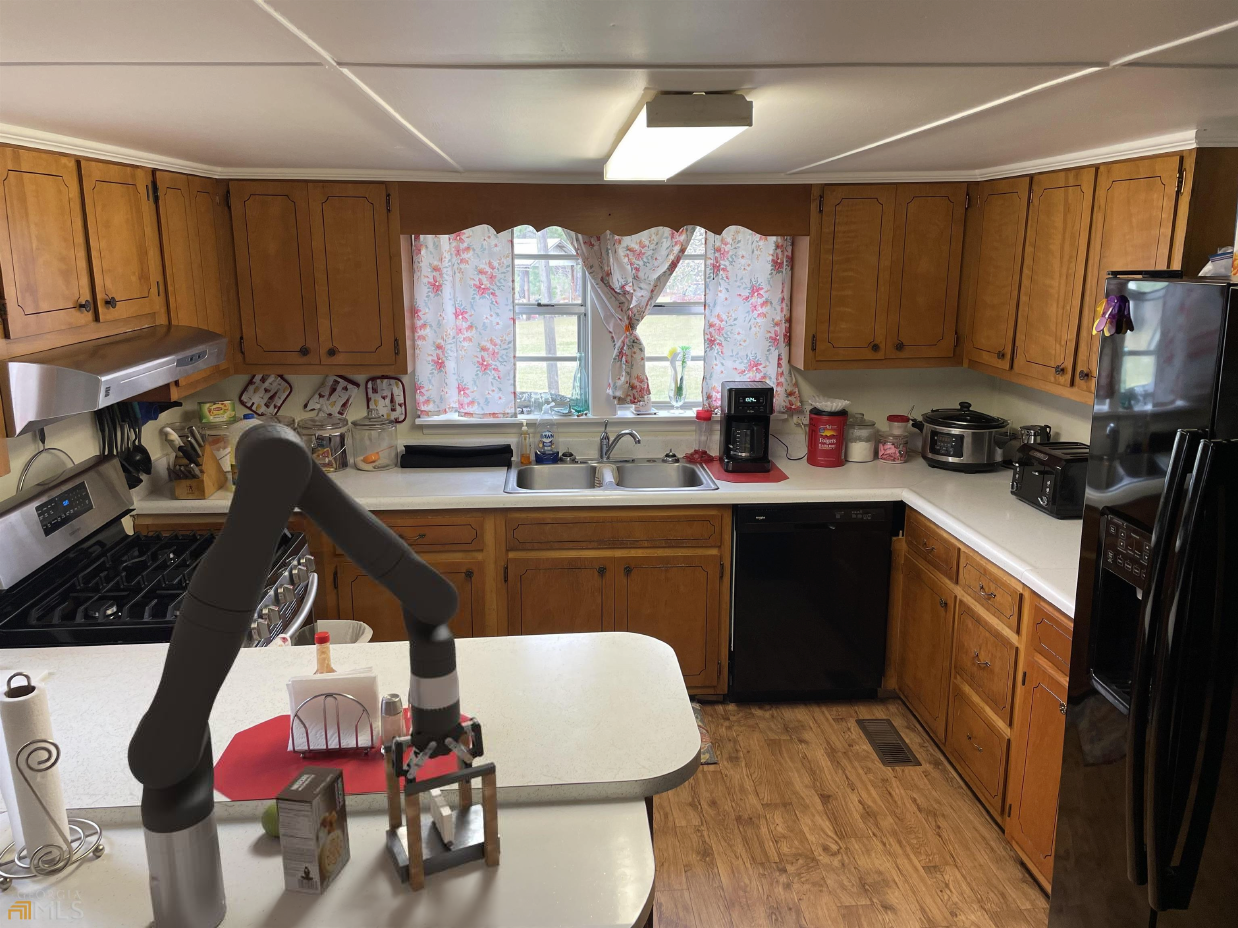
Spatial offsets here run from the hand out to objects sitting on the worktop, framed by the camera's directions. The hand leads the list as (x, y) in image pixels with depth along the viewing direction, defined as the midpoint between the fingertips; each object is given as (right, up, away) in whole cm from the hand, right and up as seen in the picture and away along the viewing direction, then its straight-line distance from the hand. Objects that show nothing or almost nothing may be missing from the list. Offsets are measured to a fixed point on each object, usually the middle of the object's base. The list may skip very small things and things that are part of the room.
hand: (439, 788), depth 144 cm
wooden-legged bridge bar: (-3, +6, +5) cm, 8 cm away
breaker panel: (0, -11, +2) cm, 11 cm away
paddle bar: (0, -8, +2) cm, 8 cm away
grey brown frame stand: (0, -11, +2) cm, 11 cm away
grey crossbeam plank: (+3, +3, -7) cm, 8 cm away
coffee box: (-18, -12, -3) cm, 22 cm away
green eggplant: (-26, -10, +7) cm, 29 cm away
